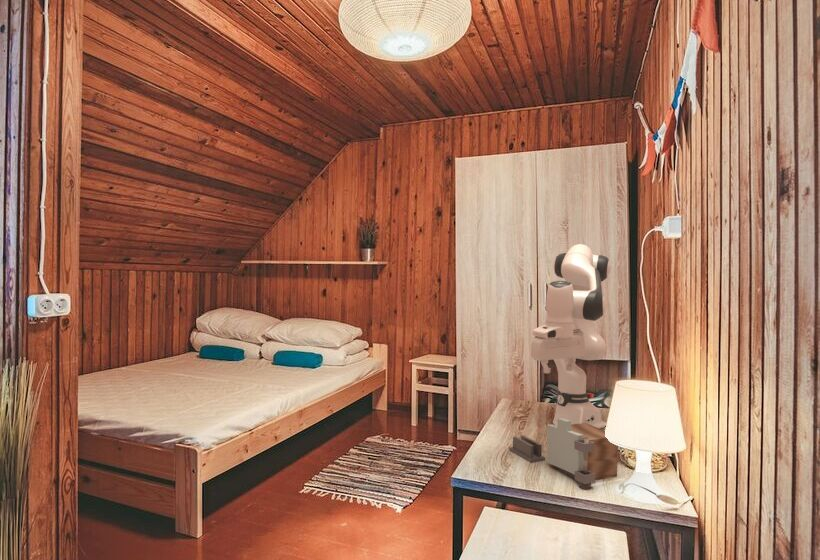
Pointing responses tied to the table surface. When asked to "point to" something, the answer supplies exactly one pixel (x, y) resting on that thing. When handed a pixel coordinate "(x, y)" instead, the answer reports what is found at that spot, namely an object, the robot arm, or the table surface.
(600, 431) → the cabinet
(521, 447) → the door stand
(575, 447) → the door
